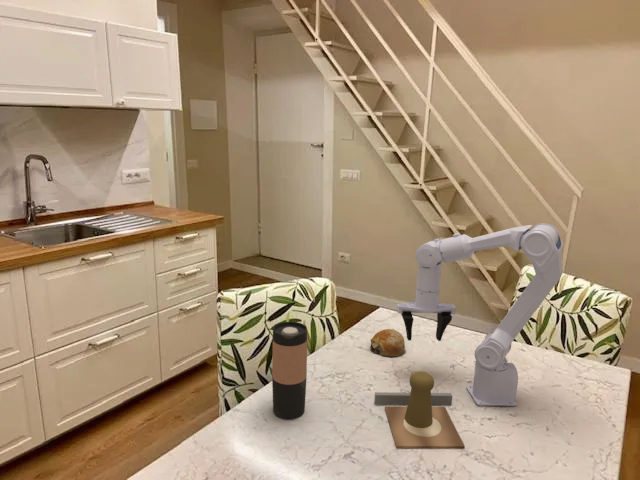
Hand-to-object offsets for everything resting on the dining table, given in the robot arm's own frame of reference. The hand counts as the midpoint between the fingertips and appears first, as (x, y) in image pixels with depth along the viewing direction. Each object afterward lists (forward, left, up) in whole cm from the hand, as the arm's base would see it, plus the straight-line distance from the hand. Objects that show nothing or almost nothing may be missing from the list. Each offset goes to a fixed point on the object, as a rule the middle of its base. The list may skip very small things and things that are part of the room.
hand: (423, 339), depth 122 cm
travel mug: (+34, +16, -11) cm, 39 cm away
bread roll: (+6, -15, -11) cm, 19 cm away
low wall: (+5, +13, -10) cm, 17 cm away
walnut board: (+5, +22, -10) cm, 25 cm away
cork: (+5, +20, -10) cm, 23 cm away
